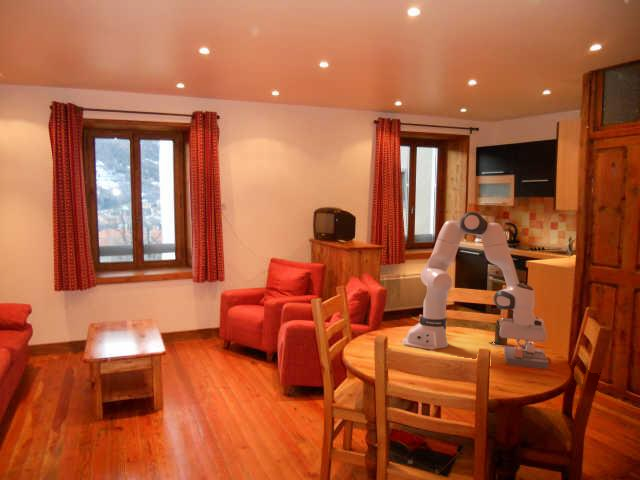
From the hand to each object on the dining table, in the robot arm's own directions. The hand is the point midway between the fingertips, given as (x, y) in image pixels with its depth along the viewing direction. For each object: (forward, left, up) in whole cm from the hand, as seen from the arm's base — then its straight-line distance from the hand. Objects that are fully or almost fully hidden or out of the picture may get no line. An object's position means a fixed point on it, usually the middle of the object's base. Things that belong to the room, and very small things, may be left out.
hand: (521, 348), depth 229 cm
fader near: (-2, -9, -1) cm, 9 cm away
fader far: (+4, 0, -1) cm, 4 cm away
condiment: (-9, +19, -4) cm, 22 cm away
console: (+1, -4, -4) cm, 6 cm away
